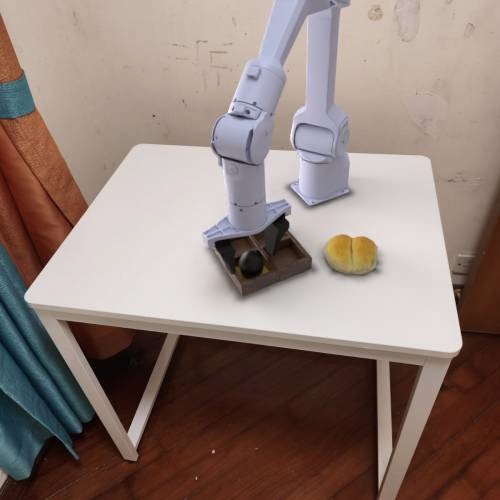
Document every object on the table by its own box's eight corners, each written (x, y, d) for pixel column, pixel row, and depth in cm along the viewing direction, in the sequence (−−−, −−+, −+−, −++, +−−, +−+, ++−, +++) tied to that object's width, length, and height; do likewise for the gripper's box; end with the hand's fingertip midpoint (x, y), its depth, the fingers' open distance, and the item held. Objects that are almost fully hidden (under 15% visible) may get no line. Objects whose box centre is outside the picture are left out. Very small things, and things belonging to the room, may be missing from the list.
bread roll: (326, 240, 81) (328, 223, 78) (377, 247, 79) (380, 230, 77) (320, 272, 76) (321, 255, 73) (375, 280, 74) (378, 263, 71)
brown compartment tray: (275, 225, 85) (275, 214, 83) (311, 268, 76) (312, 257, 75) (212, 248, 81) (210, 237, 80) (242, 296, 73) (241, 285, 71)
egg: (262, 263, 77) (261, 242, 74) (265, 280, 74) (264, 259, 71) (239, 265, 77) (237, 244, 74) (240, 282, 74) (238, 261, 71)
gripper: (273, 166, 69) (275, 231, 79) (188, 198, 64) (201, 263, 74) (299, 188, 65) (298, 255, 74) (210, 224, 60) (220, 291, 69)
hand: (251, 261), depth 74 cm, fingers open, 7 cm apart
